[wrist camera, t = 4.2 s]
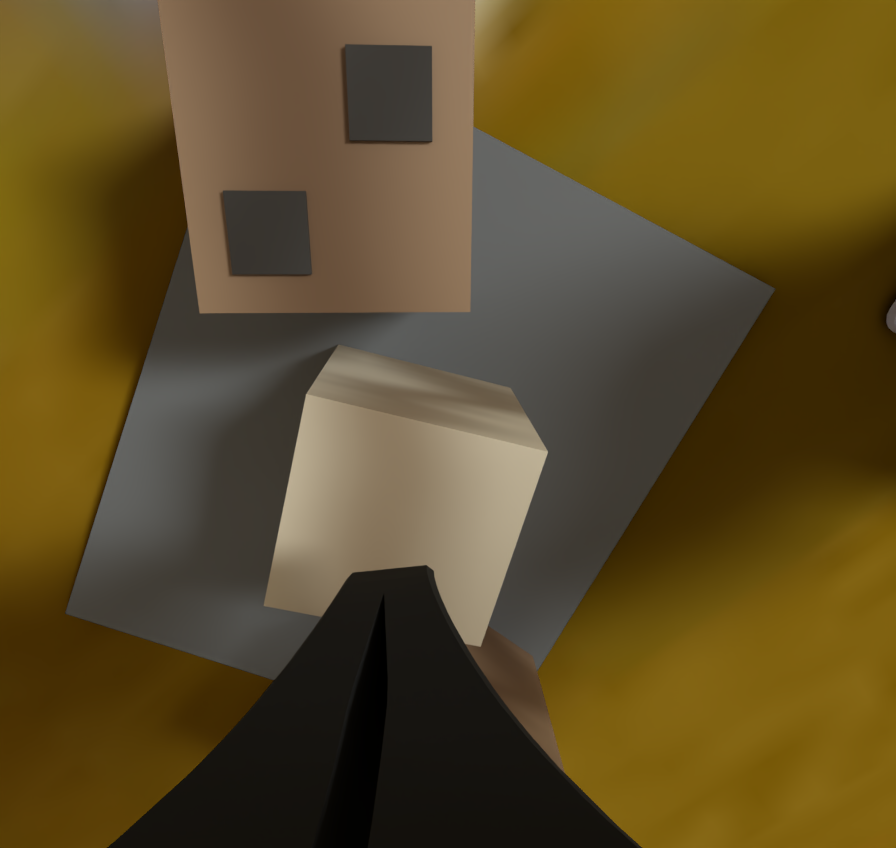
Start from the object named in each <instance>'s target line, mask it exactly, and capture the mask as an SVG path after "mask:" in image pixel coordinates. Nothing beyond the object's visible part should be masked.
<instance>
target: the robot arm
mask: <svg viewBox="0 0 896 848" xmlns="http://www.w3.org/2000/svg"><path fill="white" fill-rule="evenodd" d="M886 323H887V326H888V328H889V329H890V330H891V331H893V332H894V333H896V300H895V302H894V303H893V305H892V306H891V308H890V309H889V312H888V314H887V319H886ZM108 848H642V847H641V846H639V845H638V844H637V843H636V842H635V841H634V840H633V839H632V838H631V837H629V836H628V835H627V834H626V833H625V832H624V831H623V830H622V829H620V828H619V827H618V826H617V825H616V824H615V823H614V822H613V821H612V820H611V819H610V818H609V817H608V816H607V815H606V814H605V813H604V812H603V811H602V810H601V809H600V808H599V807H598V806H597V805H596V804H595V803H594V802H593V801H592V800H591V799H590V798H589V797H588V796H587V795H586V794H585V793H584V792H583V791H582V790H581V789H580V788H579V787H578V786H577V785H576V784H575V783H574V782H573V781H572V780H571V779H570V778H569V777H568V776H567V775H566V774H565V773H564V772H563V771H562V770H561V769H560V768H559V767H558V766H557V765H556V763H555V762H554V761H553V760H552V759H551V758H550V757H549V756H548V754H547V753H546V752H545V751H544V750H543V749H542V748H541V746H540V745H539V744H538V743H537V742H536V741H535V740H534V739H533V737H532V736H531V735H530V734H529V733H528V731H527V730H526V729H525V728H524V727H523V725H522V724H521V723H520V722H519V720H518V719H517V718H516V717H515V716H514V714H513V713H512V712H511V710H510V709H509V708H508V707H507V705H506V704H505V703H504V701H503V700H502V699H501V697H500V696H499V695H498V693H497V692H496V690H495V689H494V688H493V686H492V685H491V683H490V682H489V680H488V679H487V677H486V676H485V675H484V673H483V672H482V670H481V669H480V667H479V666H478V664H477V663H476V661H475V659H474V658H473V656H472V655H471V653H470V652H469V650H468V648H467V646H466V645H465V643H464V641H463V639H462V638H461V636H460V634H459V632H458V631H457V629H456V627H455V625H454V624H453V622H452V620H451V618H450V616H449V614H448V612H447V609H446V607H445V605H444V603H443V601H442V598H441V596H440V593H439V591H438V588H437V585H436V581H435V577H434V570H432V569H431V568H430V567H428V566H427V565H422V566H412V567H402V568H392V569H383V570H373V571H363V572H354V573H352V574H351V575H350V576H349V577H348V578H347V579H346V581H345V582H344V584H343V585H342V587H341V589H340V590H339V592H338V593H337V595H336V596H335V598H334V599H333V601H332V602H331V604H330V605H329V607H328V608H327V610H326V611H325V613H324V614H323V616H322V617H321V619H320V620H319V621H318V623H317V624H316V626H315V627H314V629H313V630H312V631H311V633H310V634H309V635H308V637H307V638H306V640H305V641H304V642H303V644H302V645H301V646H300V648H299V649H298V650H297V652H296V653H295V654H294V656H293V657H292V659H291V660H290V661H289V662H288V664H287V665H286V666H285V668H284V669H283V670H282V671H281V673H280V674H279V675H278V676H277V677H276V679H275V680H274V681H273V682H272V683H271V685H270V686H269V687H268V688H267V690H266V691H265V692H264V693H263V694H262V696H261V697H260V698H259V699H258V701H257V702H256V703H255V704H254V705H253V707H252V708H251V709H250V710H249V711H248V712H247V713H246V715H245V716H244V717H243V718H242V719H241V720H240V721H239V722H238V724H237V725H236V726H235V727H234V728H233V729H232V730H231V731H230V732H229V733H228V735H227V736H226V737H225V738H224V739H223V740H222V741H221V742H220V743H219V744H218V745H217V746H216V747H215V748H214V749H213V750H212V751H211V752H210V753H209V754H208V755H207V757H206V758H205V759H204V760H203V761H202V762H201V763H200V764H199V765H198V766H197V767H196V768H195V769H194V770H193V771H192V772H191V773H190V774H189V775H188V776H186V777H185V778H184V779H183V780H182V781H181V782H180V783H179V784H178V785H177V786H175V787H174V788H173V789H172V790H171V791H170V792H169V793H168V794H167V795H166V796H164V797H163V798H162V799H161V800H160V801H159V802H158V803H157V804H156V805H155V806H153V807H152V808H151V809H150V810H149V811H148V812H147V813H146V814H145V815H143V816H142V817H141V818H140V819H139V820H138V821H137V822H136V823H135V824H134V825H132V826H131V827H130V828H129V829H128V830H127V831H126V832H125V833H124V834H123V835H121V836H120V837H119V838H118V839H117V840H116V841H115V842H113V843H112V844H111V845H110V846H109V847H108Z"/></svg>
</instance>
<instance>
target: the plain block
mask: <svg viewBox="0 0 896 848" xmlns="http://www.w3.org/2000/svg"><path fill="white" fill-rule="evenodd" d="M547 454H548V451H547V449H546V447H545V446H544V444H543V442H542V441H541V439H540V437H539V435H538V434H537V432H536V430H535V429H534V427H533V425H532V424H531V422H530V420H529V418H528V417H527V415H526V413H525V412H524V410H523V408H522V407H521V405H520V403H519V401H518V400H517V398H516V396H515V395H514V393H513V391H512V390H511V388H509V387H505V386H501V385H497V384H493V383H490V382H486V381H482V380H478V379H474V378H470V377H466V376H462V375H458V374H454V373H450V372H446V371H442V370H438V369H434V368H430V367H426V366H422V365H418V364H414V363H410V362H406V361H402V360H398V359H394V358H390V357H386V356H382V355H378V354H374V353H370V352H367V351H363V350H359V349H355V348H351V347H347V346H343V345H339V344H338V346H337V347H336V349H335V351H334V352H333V354H332V355H331V357H330V358H329V360H328V361H327V363H326V364H325V366H324V367H323V369H322V371H321V372H320V374H319V375H318V377H317V378H316V380H315V381H314V383H313V384H312V386H311V387H310V389H309V391H308V392H307V394H306V398H305V402H304V407H303V412H302V417H301V422H300V427H299V432H298V437H297V442H296V447H295V452H294V457H293V462H292V467H291V472H290V477H289V482H288V487H287V492H286V497H285V502H284V507H283V512H282V517H281V522H280V527H279V531H278V536H277V541H276V546H275V551H274V556H273V561H272V566H271V571H270V576H269V581H268V586H267V591H266V596H265V601H264V606H266V607H272V608H277V609H282V610H288V611H293V612H298V613H304V614H309V615H314V616H320V617H322V616H323V614H324V613H325V611H326V610H327V608H328V607H329V605H330V604H331V602H332V601H333V599H334V598H335V596H336V595H337V593H338V592H339V590H340V589H341V587H342V585H343V584H344V582H345V581H346V579H347V578H348V577H349V576H350V575H351V574H352V573H354V572H363V571H373V570H383V569H392V568H402V567H412V566H422V565H427V566H428V567H430V568H431V569H432V570H434V577H435V581H436V585H437V588H438V591H439V593H440V596H441V598H442V601H443V603H444V605H445V607H446V609H447V612H448V614H449V616H450V618H451V620H452V622H453V624H454V625H455V627H456V629H457V631H458V632H459V634H460V636H461V638H462V639H463V641H464V643H465V644H469V645H474V646H479V647H481V644H482V641H483V638H484V636H485V633H486V630H487V627H488V624H489V621H490V618H491V615H492V612H493V610H494V607H495V604H496V601H497V598H498V595H499V592H500V589H501V586H502V584H503V581H504V578H505V575H506V572H507V569H508V566H509V563H510V560H511V558H512V555H513V552H514V549H515V546H516V543H517V540H518V537H519V534H520V532H521V529H522V526H523V523H524V520H525V517H526V514H527V511H528V508H529V506H530V503H531V500H532V497H533V494H534V491H535V488H536V485H537V482H538V480H539V477H540V474H541V471H542V468H543V465H544V462H545V459H546V457H547Z"/></svg>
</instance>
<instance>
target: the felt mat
mask: <svg viewBox="0 0 896 848" xmlns="http://www.w3.org/2000/svg"><path fill="white" fill-rule="evenodd" d="M774 290H775V288H773V287H771V286H769V285H767V284H766V283H764V282H762V281H760V280H758V279H756V278H754V277H753V276H751V275H749V274H747V273H745V272H743V271H741V270H739V269H738V268H736V267H734V266H732V265H730V264H728V263H726V262H725V261H723V260H721V259H719V258H717V257H715V256H713V255H712V254H710V253H708V252H706V251H704V250H702V249H700V248H698V247H697V246H695V245H693V244H691V243H689V242H687V241H685V240H684V239H682V238H680V237H678V236H676V235H674V234H672V233H671V232H669V231H667V230H665V229H663V228H661V227H659V226H657V225H656V224H654V223H652V222H650V221H648V220H646V219H644V218H643V217H641V216H639V215H637V214H635V213H633V212H631V211H630V210H628V209H626V208H624V207H622V206H620V205H618V204H616V203H615V202H613V201H611V200H609V199H607V198H605V197H603V196H602V195H600V194H598V193H596V192H594V191H592V190H590V189H589V188H587V187H585V186H583V185H581V184H579V183H577V182H575V181H574V180H572V179H570V178H568V177H566V176H564V175H562V174H561V173H559V172H557V171H555V170H553V169H551V168H549V167H548V166H546V165H544V164H542V163H540V162H538V161H536V160H534V159H533V158H531V157H529V156H527V155H525V154H523V153H521V152H520V151H518V150H516V149H514V148H512V147H510V146H508V145H507V144H505V143H503V142H501V141H499V140H497V139H495V138H493V137H492V136H490V135H488V134H486V133H484V132H482V131H480V130H479V129H477V128H475V127H473V169H472V235H471V301H470V312H369V313H200V312H199V305H198V297H197V290H196V282H195V275H194V268H193V260H192V253H191V245H190V238H189V230H188V227H187V230H186V233H185V236H184V240H183V243H182V246H181V249H180V252H179V255H178V258H177V262H176V265H175V268H174V271H173V274H172V277H171V281H170V284H169V287H168V290H167V293H166V296H165V300H164V303H163V306H162V309H161V312H160V315H159V318H158V322H157V325H156V328H155V331H154V334H153V337H152V341H151V344H150V347H149V350H148V353H147V356H146V360H145V363H144V366H143V369H142V372H141V375H140V379H139V382H138V385H137V388H136V391H135V394H134V397H133V401H132V404H131V407H130V410H129V413H128V416H127V420H126V423H125V426H124V429H123V432H122V435H121V439H120V442H119V445H118V448H117V451H116V454H115V457H114V461H113V464H112V467H111V470H110V473H109V476H108V480H107V483H106V486H105V489H104V492H103V495H102V499H101V502H100V505H99V508H98V511H97V514H96V517H95V521H94V524H93V527H92V530H91V533H90V536H89V540H88V543H87V546H86V549H85V552H84V555H83V559H82V562H81V565H80V568H79V571H78V574H77V578H76V581H75V584H74V587H73V590H72V593H71V596H70V600H69V603H68V606H67V609H66V612H65V614H68V615H71V616H74V617H77V618H80V619H83V620H87V621H90V622H93V623H96V624H99V625H102V626H105V627H109V628H112V629H115V630H118V631H121V632H124V633H127V634H131V635H134V636H137V637H140V638H143V639H146V640H149V641H152V642H156V643H159V644H162V645H165V646H168V647H171V648H174V649H178V650H181V651H184V652H187V653H190V654H193V655H196V656H199V657H203V658H206V659H209V660H212V661H215V662H218V663H221V664H225V665H228V666H231V667H234V668H237V669H240V670H243V671H246V672H250V673H253V674H256V675H259V676H262V677H265V678H268V679H272V680H275V679H276V677H277V676H278V675H279V674H280V673H281V671H282V670H283V669H284V668H285V666H286V665H287V664H288V662H289V661H290V660H291V659H292V657H293V656H294V654H295V653H296V652H297V650H298V649H299V648H300V646H301V645H302V644H303V642H304V641H305V640H306V638H307V637H308V635H309V634H310V633H311V631H312V630H313V629H314V627H315V626H316V624H317V623H318V621H319V620H320V619H321V617H320V616H314V615H309V614H304V613H298V612H293V611H288V610H282V609H277V608H272V607H266V606H264V601H265V596H266V591H267V586H268V581H269V576H270V571H271V566H272V561H273V556H274V551H275V546H276V541H277V536H278V531H279V527H280V522H281V517H282V512H283V507H284V502H285V497H286V492H287V487H288V482H289V477H290V472H291V467H292V462H293V457H294V452H295V447H296V442H297V437H298V432H299V427H300V422H301V417H302V412H303V407H304V402H305V398H306V394H307V392H308V391H309V389H310V387H311V386H312V384H313V383H314V381H315V380H316V378H317V377H318V375H319V374H320V372H321V371H322V369H323V367H324V366H325V364H326V363H327V361H328V360H329V358H330V357H331V355H332V354H333V352H334V351H335V349H336V347H337V346H338V344H339V345H343V346H347V347H351V348H355V349H359V350H363V351H367V352H370V353H374V354H378V355H382V356H386V357H390V358H394V359H398V360H402V361H406V362H410V363H414V364H418V365H422V366H426V367H430V368H434V369H438V370H442V371H446V372H450V373H454V374H458V375H462V376H466V377H470V378H474V379H478V380H482V381H486V382H490V383H493V384H497V385H501V386H505V387H509V388H511V390H512V391H513V393H514V395H515V396H516V398H517V400H518V401H519V403H520V405H521V407H522V408H523V410H524V412H525V413H526V415H527V417H528V418H529V420H530V422H531V424H532V425H533V427H534V429H535V430H536V432H537V434H538V435H539V437H540V439H541V441H542V442H543V444H544V446H545V447H546V449H547V451H548V454H547V457H546V459H545V462H544V465H543V468H542V471H541V474H540V477H539V480H538V482H537V485H536V488H535V491H534V494H533V497H532V500H531V503H530V506H529V508H528V511H527V514H526V517H525V520H524V523H523V526H522V529H521V532H520V534H519V537H518V540H517V543H516V546H515V549H514V552H513V555H512V558H511V560H510V563H509V566H508V569H507V572H506V575H505V578H504V581H503V584H502V586H501V589H500V592H499V595H498V598H497V601H496V604H495V607H494V610H493V612H492V615H491V618H490V621H489V624H488V626H489V627H491V628H492V629H494V630H495V631H497V632H498V633H500V634H501V635H503V636H504V637H506V638H507V639H508V640H510V641H511V642H513V643H514V644H516V645H517V646H519V647H520V648H522V649H523V650H524V651H526V652H527V653H529V654H530V655H532V656H533V659H534V662H535V666H536V670H537V671H538V669H539V667H540V666H541V664H542V663H543V661H544V659H545V658H546V656H547V655H548V653H549V651H550V650H551V648H552V647H553V645H554V643H555V642H556V640H557V639H558V637H559V635H560V634H561V632H562V631H563V629H564V627H565V626H566V624H567V623H568V621H569V619H570V618H571V616H572V614H573V613H574V611H575V610H576V608H577V606H578V605H579V603H580V602H581V600H582V598H583V597H584V595H585V594H586V592H587V590H588V589H589V587H590V586H591V584H592V582H593V581H594V579H595V578H596V576H597V574H598V573H599V571H600V570H601V568H602V566H603V565H604V563H605V562H606V560H607V558H608V557H609V555H610V554H611V552H612V550H613V549H614V547H615V546H616V544H617V542H618V541H619V539H620V537H621V536H622V534H623V533H624V531H625V529H626V528H627V526H628V525H629V523H630V521H631V520H632V518H633V517H634V515H635V513H636V512H637V510H638V509H639V507H640V505H641V504H642V502H643V501H644V499H645V497H646V496H647V494H648V493H649V491H650V489H651V488H652V486H653V485H654V483H655V481H656V480H657V478H658V477H659V475H660V473H661V472H662V470H663V469H664V467H665V465H666V464H667V462H668V460H669V459H670V457H671V456H672V454H673V452H674V451H675V449H676V448H677V446H678V444H679V443H680V441H681V440H682V438H683V436H684V435H685V433H686V432H687V430H688V428H689V427H690V425H691V424H692V422H693V420H694V419H695V417H696V416H697V414H698V412H699V411H700V409H701V408H702V406H703V404H704V403H705V401H706V400H707V398H708V396H709V395H710V393H711V392H712V390H713V388H714V387H715V385H716V383H717V382H718V380H719V379H720V377H721V375H722V374H723V372H724V371H725V369H726V367H727V366H728V364H729V363H730V361H731V359H732V358H733V356H734V355H735V353H736V351H737V350H738V348H739V347H740V345H741V343H742V342H743V340H744V339H745V337H746V335H747V334H748V332H749V331H750V329H751V327H752V326H753V324H754V323H755V321H756V319H757V318H758V316H759V314H760V313H761V311H762V310H763V308H764V306H765V305H766V303H767V302H768V300H769V298H770V297H771V295H772V294H773V292H774Z"/></svg>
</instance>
